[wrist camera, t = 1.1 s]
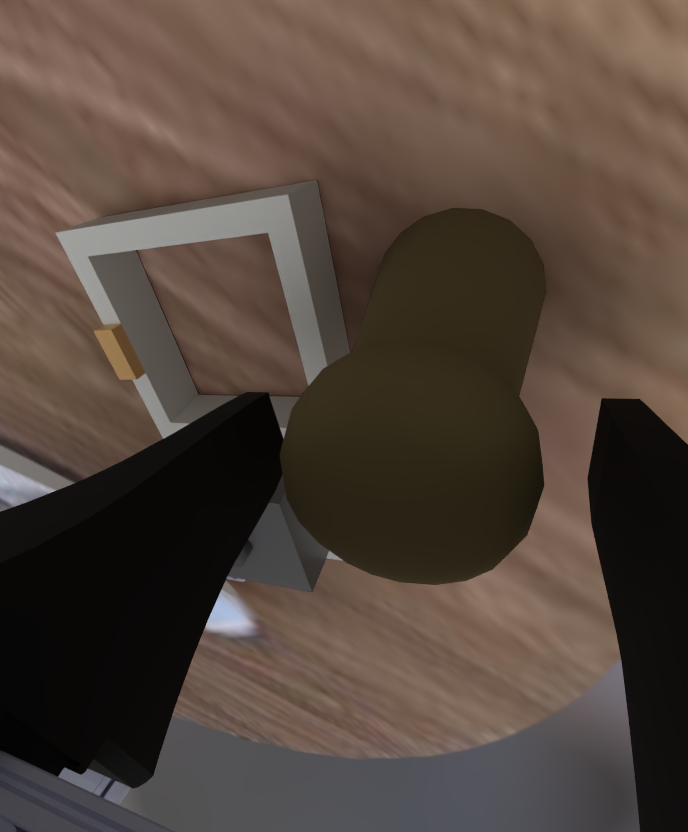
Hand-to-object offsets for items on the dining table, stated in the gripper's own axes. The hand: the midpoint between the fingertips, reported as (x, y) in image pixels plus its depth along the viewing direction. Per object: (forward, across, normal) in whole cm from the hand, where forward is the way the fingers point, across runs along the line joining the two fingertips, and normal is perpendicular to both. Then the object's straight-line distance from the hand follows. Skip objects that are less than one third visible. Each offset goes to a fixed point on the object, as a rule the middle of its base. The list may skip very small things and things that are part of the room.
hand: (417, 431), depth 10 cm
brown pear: (+8, 0, 0) cm, 8 cm away
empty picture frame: (+8, +10, +5) cm, 13 cm away
